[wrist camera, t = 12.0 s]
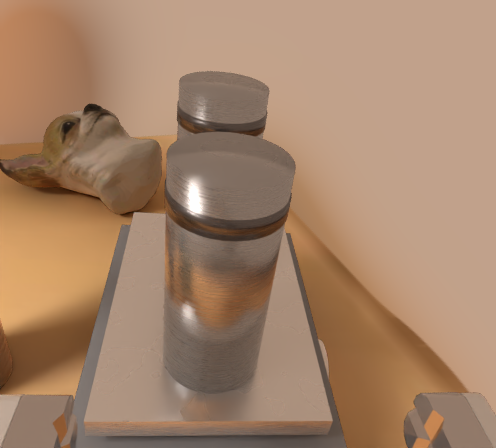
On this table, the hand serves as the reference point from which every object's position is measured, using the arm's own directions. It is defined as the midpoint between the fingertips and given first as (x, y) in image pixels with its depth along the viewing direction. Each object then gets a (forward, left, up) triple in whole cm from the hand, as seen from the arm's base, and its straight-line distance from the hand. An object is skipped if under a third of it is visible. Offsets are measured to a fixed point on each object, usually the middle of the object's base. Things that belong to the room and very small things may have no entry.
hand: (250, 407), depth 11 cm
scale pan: (0, +12, -8) cm, 14 cm away
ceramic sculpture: (-11, +32, -13) cm, 36 cm away
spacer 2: (0, +8, -7) cm, 11 cm away
